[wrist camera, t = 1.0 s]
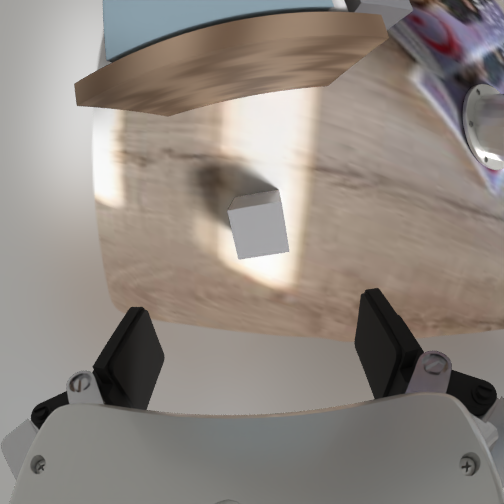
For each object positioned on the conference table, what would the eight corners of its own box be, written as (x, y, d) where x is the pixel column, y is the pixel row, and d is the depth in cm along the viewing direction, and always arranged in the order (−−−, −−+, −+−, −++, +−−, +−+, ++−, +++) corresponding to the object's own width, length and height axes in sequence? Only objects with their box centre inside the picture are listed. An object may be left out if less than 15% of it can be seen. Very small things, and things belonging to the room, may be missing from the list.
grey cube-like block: (278, 189, 30) (281, 201, 24) (285, 231, 32) (289, 251, 26) (234, 197, 30) (227, 210, 25) (243, 237, 32) (238, 259, 27)
